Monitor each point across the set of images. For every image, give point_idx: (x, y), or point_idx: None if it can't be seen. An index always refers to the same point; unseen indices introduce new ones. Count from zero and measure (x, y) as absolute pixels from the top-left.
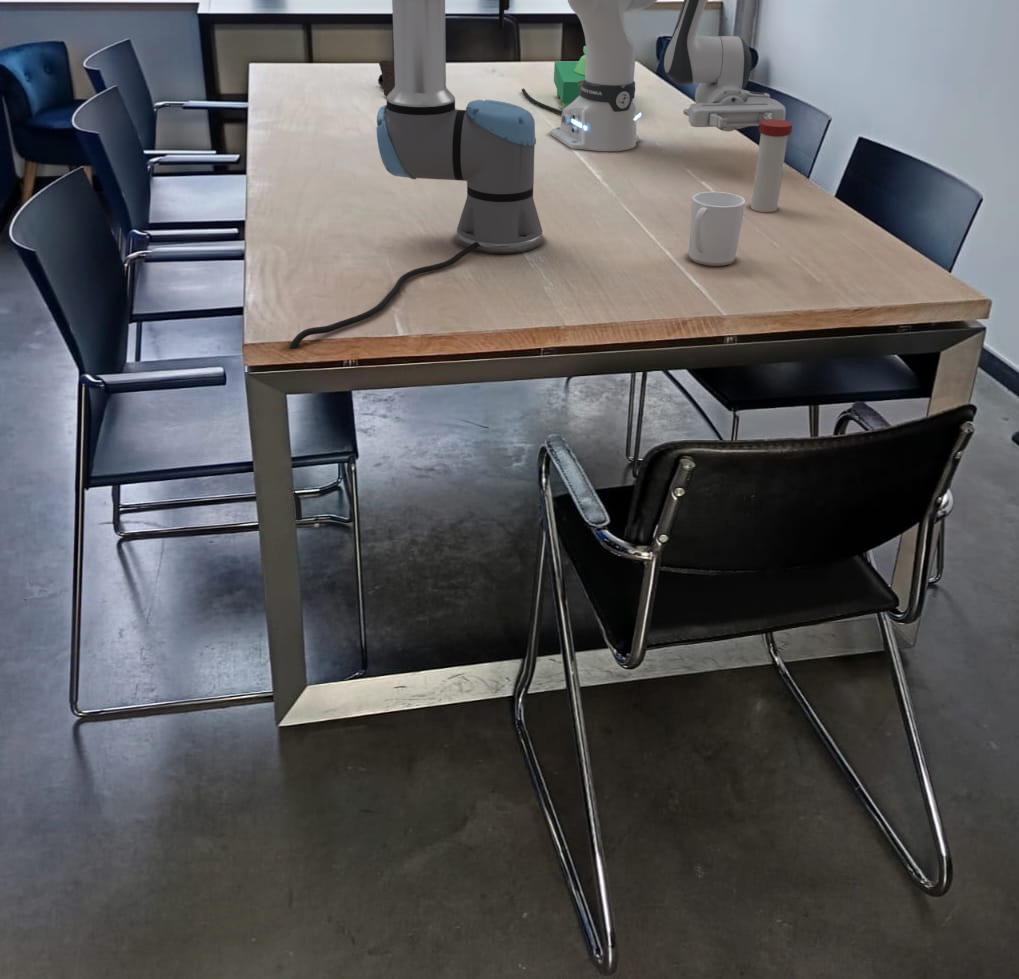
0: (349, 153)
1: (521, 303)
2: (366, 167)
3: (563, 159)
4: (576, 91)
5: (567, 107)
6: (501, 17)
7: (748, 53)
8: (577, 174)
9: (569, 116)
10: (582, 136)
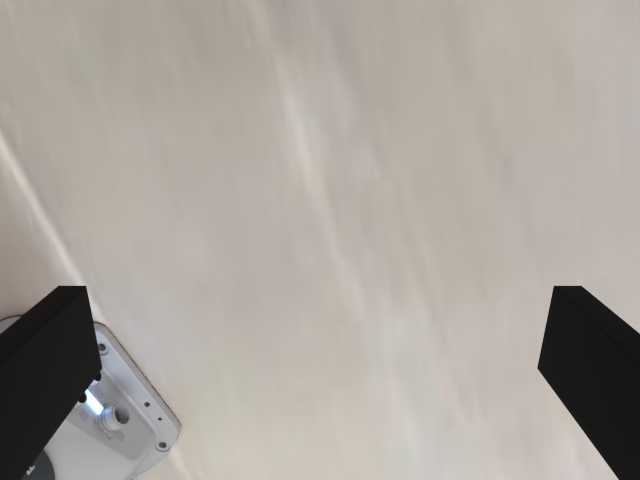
0: (626, 194)
1: None
2: (579, 69)
3: (102, 241)
4: None
5: (112, 458)
6: (19, 327)
7: None
8: (33, 113)
9: (103, 418)
10: None
